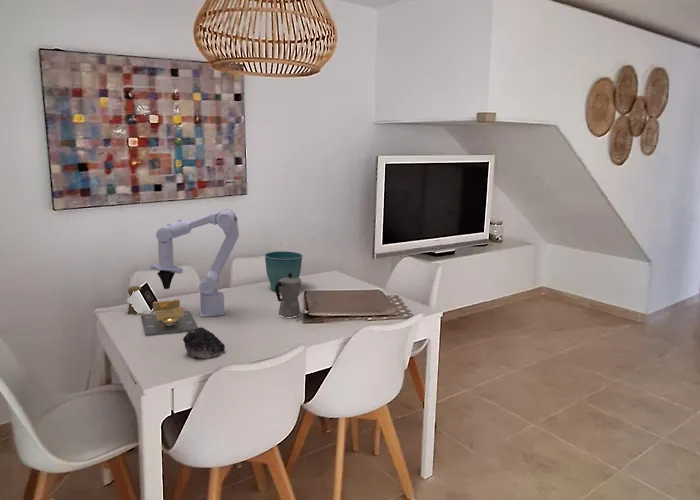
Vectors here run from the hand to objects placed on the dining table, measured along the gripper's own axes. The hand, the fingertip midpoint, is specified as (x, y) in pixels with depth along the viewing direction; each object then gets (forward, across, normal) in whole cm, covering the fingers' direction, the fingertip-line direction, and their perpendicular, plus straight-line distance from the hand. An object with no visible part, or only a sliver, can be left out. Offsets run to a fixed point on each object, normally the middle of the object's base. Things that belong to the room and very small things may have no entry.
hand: (166, 288), depth 233 cm
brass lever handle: (+8, +12, -13) cm, 20 cm away
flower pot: (+11, +25, +54) cm, 61 cm away
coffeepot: (+11, +45, +20) cm, 51 cm away
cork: (+11, -11, -6) cm, 17 cm away
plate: (+10, +9, -11) cm, 17 cm away
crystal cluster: (+11, +38, -28) cm, 48 cm away
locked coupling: (+8, +4, -6) cm, 11 cm away
